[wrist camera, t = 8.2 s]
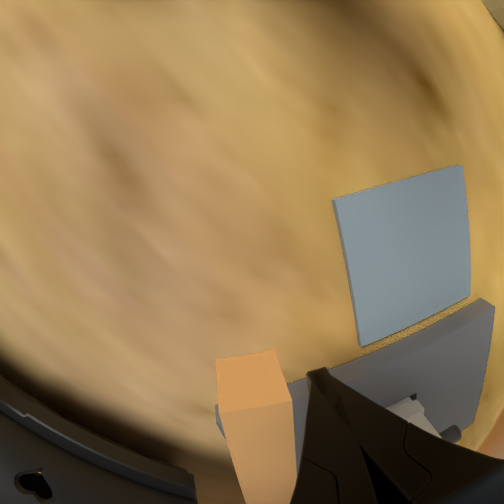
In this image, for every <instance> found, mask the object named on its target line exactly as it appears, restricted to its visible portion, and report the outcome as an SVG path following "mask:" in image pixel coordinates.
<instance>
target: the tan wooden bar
mask: <svg viewBox="0 0 504 504" xmlns="http://www.w3.org/2000/svg"><path fill="white" fill-rule="evenodd" d="M216 376H217V393H218V408H219V415H220V419H221V423H222V426H223V430H224V433H225V437H226V440H227V444H228V447H229V451H230V454H231V458H232V461H233V464H234V468H235V471H236V474H237V477H238V480H239V484H240V487H241V490H242V493H243V496H244V499H245V502H246V504H290V501H291V497H292V494H293V491H294V488H295V484H296V479H297V472H296V454H295V437H294V421H293V406H292V399H291V396H290V393H289V390H288V388H287V385H286V382H285V379H284V376H283V373H282V371H281V368H280V365H279V362H278V359H277V356H276V354H275V351H274V350H271V351H265V352H260V353H254V354H248V355H242V356H235V357H229V358H222V359H216Z"/></svg>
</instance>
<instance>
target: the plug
mask: <svg viewBox="0 0 504 504" xmlns="http://www.w3.org/2000/svg"><path fill="white" fill-rule="evenodd" d="M386 409H388V410H390V411H391V412H393V413H395V414H396V415H398V416H400V417H402V418H403V419H405V420H407V421H408V423H409V422H411V423H412V424H414V425H416V426H418V427H419V428H421V429H423V430H425V431H427V432H429V433H431V434H433V435H435V436H437V437H440V438H442V439H444V440H447V441H449V442H451V443H456V442H457V441H459V440H460V439H461V432H460V429H459V428H458V427H457V426H456V425H452V426H450V427H449V428H447V429H445V430H444V431H442V432H440V433H439V434H438V432H437V431H436V430H435V429H434V427H433V426H432V425H431V424H430V422H429V421H428V420H427V418H426V417H425V416H424V407H423V406H422V405H421V404H420V403H419V401H418V400H417V399H416V400H414V401H412V400H411V398H410V397H407V398H405V399H403V400H401V401H399V402H397V403H395V404H393V405H391V406H389V407H386Z"/></svg>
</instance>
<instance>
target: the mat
mask: <svg viewBox="0 0 504 504" xmlns="http://www.w3.org/2000/svg"><path fill="white" fill-rule="evenodd" d="M332 203H333V207H334V212H335V216H336V221H337V225H338V230H339V234H340V239H341V244H342V249H343V254H344V259H345V264H346V270H347V275H348V281H349V286H350V292H351V298H352V304H353V310H354V316H355V323H356V329H357V336H358V343H359V345H360V346H361V347H363V346H366V345H368V344H371V343H373V342H375V341H378V340H380V339H382V338H385V337H387V336H389V335H391V334H394V333H396V332H398V331H400V330H402V329H405V328H407V327H409V326H411V325H413V324H415V323H417V322H419V321H421V320H424V319H426V318H428V317H430V316H432V315H434V314H436V313H438V312H440V311H442V310H444V309H446V308H447V307H449V306H451V305H453V304H455V303H457V302H459V301H461V300H463V299H464V298H466V297H468V296H470V237H469V221H468V209H467V199H466V190H465V182H464V175H463V168H462V165H454V166H450V167H447V168H443V169H439V170H435V171H432V172H428V173H424V174H420V175H417V176H413V177H409V178H406V179H402V180H399V181H395V182H391V183H388V184H384V185H381V186H377V187H374V188H370V189H367V190H363V191H360V192H356V193H353V194H349V195H346V196H342V197H339V198H335V199H332Z"/></svg>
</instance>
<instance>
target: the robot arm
mask: <svg viewBox="0 0 504 504" xmlns="http://www.w3.org/2000/svg"><path fill="white" fill-rule="evenodd" d="M306 378H307V385H308V392H309V399H308V407H307V415H306V423H305V430H304V438H303V445H302V451H301V459H300V463H299V470H298V475H297V479H296V484H295V488H294V491H293V494H292V497H291V501H290V504H504V459H498V458H493V457H490V456H488V455H484V454H482V453H479V452H476V451H473V450H470V449H467V448H465V447H462V446H459V445H457V444H454V443H451V442H449V441H447V440H444V439H442V438H440V437H437V436H435V435H433V434H431V433H429V432H427V431H425V430H423V429H421V428H419V427H418V426H416V425H414V424H412V423H411V422H409V423H408V421H407V420H405V419H403V418H402V417H400V416H398V415H396V414H395V413H393V412H391V411H390V410H388V409H386V408H384V407H383V406H381V405H379V404H378V403H376V402H374V401H373V400H371V399H369V398H368V397H366V396H364V395H363V394H361V393H359V392H358V391H356V390H355V389H353V388H351V387H350V386H348V385H346V384H345V383H343V382H342V381H340V380H338V379H337V378H335V377H334V376H332V375H331V374H330V372H329V371H328V369H327V368H325V367H323V368H319V369H316V370H312V371H308V372H307V374H306Z"/></svg>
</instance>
